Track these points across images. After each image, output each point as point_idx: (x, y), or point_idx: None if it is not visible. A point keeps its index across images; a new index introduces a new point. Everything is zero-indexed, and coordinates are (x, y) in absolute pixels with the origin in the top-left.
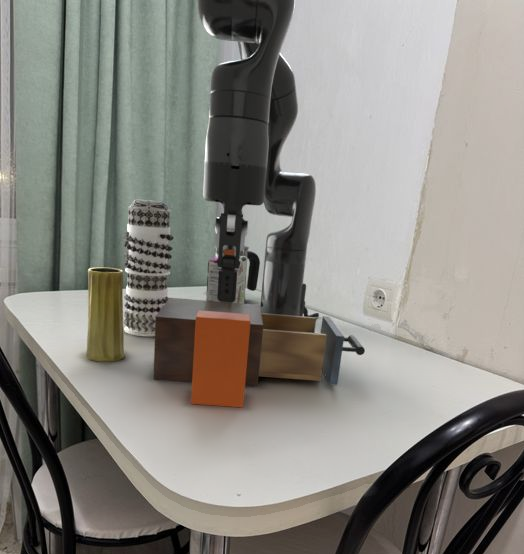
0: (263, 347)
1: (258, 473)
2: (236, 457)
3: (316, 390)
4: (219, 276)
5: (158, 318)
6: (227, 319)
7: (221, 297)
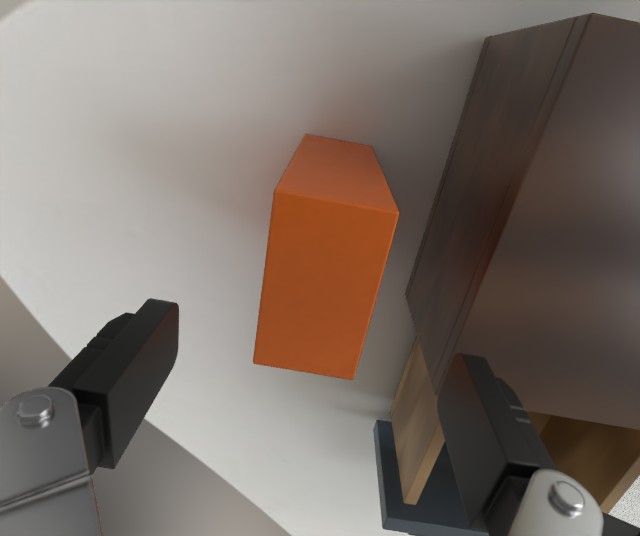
0: None
1: (33, 219)
2: (77, 194)
3: (377, 391)
4: (90, 368)
5: (578, 29)
6: (262, 299)
7: (127, 316)
